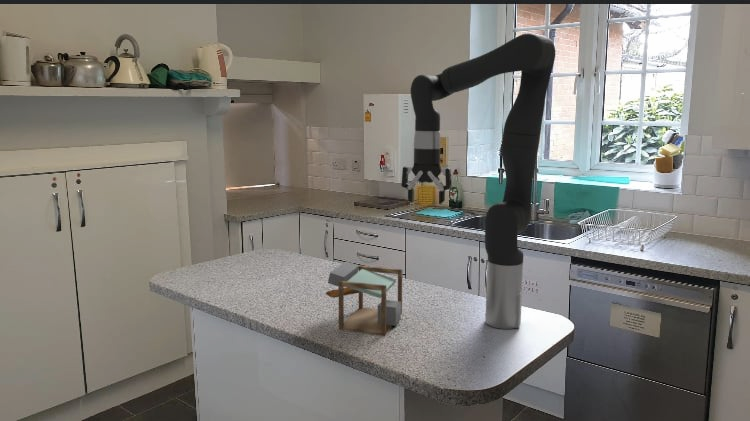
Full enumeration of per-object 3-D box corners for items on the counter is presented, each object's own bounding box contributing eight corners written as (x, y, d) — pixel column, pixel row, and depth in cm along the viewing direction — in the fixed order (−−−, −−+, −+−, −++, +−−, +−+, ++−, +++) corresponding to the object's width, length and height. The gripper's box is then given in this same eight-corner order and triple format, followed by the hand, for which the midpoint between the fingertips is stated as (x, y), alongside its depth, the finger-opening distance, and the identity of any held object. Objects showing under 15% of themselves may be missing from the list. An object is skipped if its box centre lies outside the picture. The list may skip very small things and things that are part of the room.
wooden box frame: (401, 313, 163) (402, 269, 161) (384, 335, 148) (385, 286, 146) (359, 309, 167) (359, 265, 165) (338, 329, 152) (338, 281, 149)
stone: (383, 317, 159) (400, 319, 158) (377, 323, 154) (395, 325, 153) (383, 299, 158) (400, 301, 157) (377, 305, 154) (395, 307, 152)
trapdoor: (394, 286, 161) (396, 276, 161) (379, 301, 148) (382, 291, 147) (345, 270, 165) (347, 260, 164) (326, 284, 152) (328, 273, 151)
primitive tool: (332, 299, 177) (332, 288, 177) (324, 294, 182) (324, 283, 181) (385, 289, 187) (385, 278, 186) (376, 285, 192) (376, 274, 191)
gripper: (454, 146, 167) (452, 202, 169) (406, 145, 171) (405, 199, 174) (449, 148, 159) (447, 206, 162) (399, 147, 164) (398, 203, 167)
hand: (426, 203), depth 168 cm, fingers open, 8 cm apart
